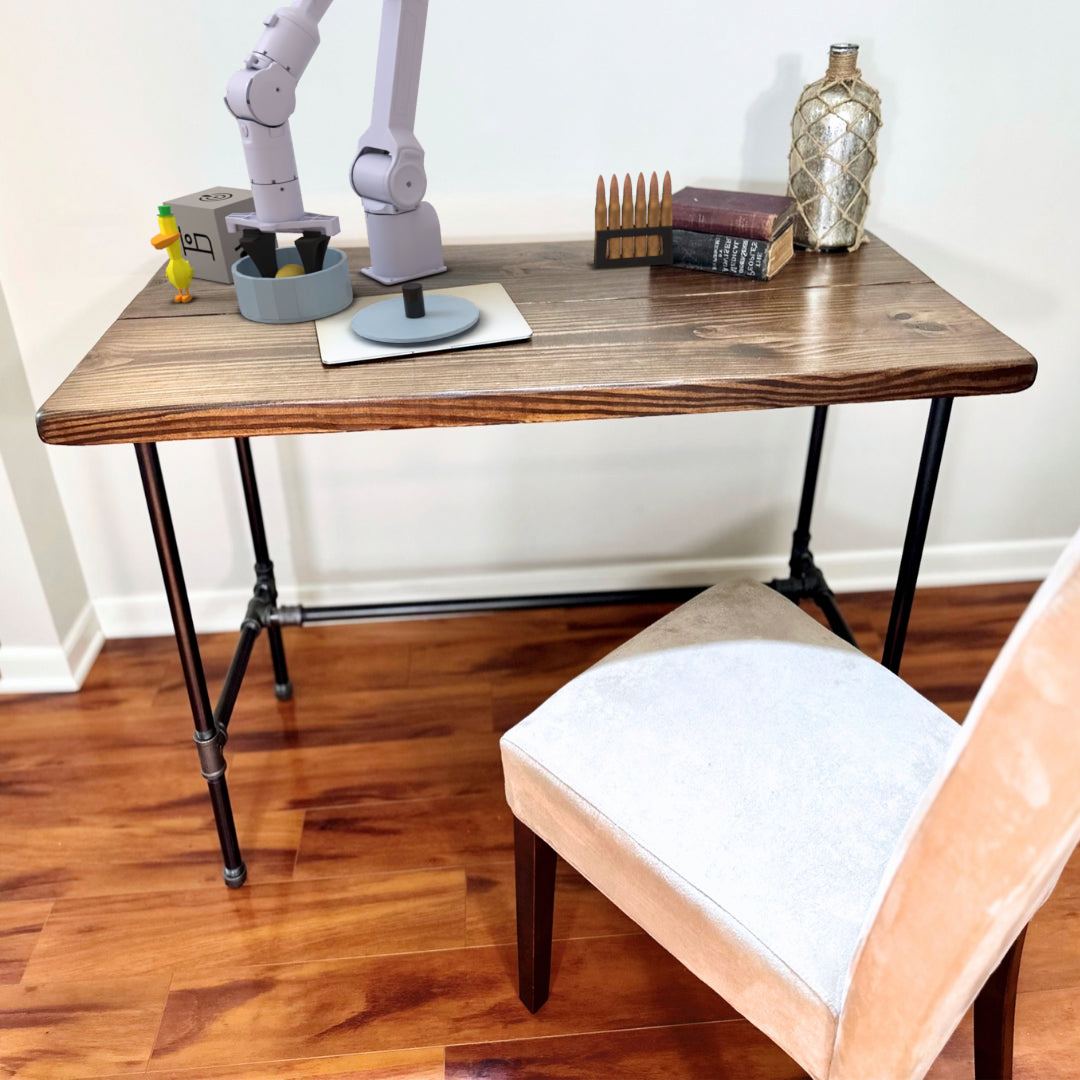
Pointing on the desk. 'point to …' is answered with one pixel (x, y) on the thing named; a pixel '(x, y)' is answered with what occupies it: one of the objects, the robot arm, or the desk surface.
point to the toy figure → (173, 253)
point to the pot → (293, 289)
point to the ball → (290, 271)
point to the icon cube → (211, 230)
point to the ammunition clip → (633, 224)
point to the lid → (415, 317)
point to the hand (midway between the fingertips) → (294, 290)
